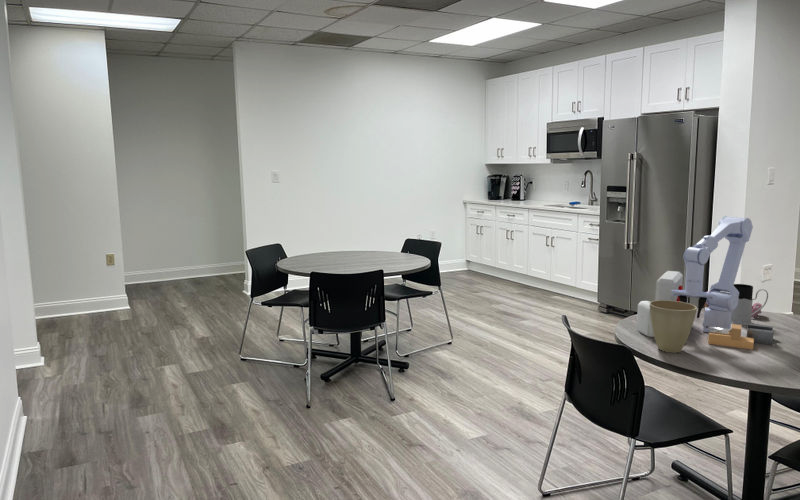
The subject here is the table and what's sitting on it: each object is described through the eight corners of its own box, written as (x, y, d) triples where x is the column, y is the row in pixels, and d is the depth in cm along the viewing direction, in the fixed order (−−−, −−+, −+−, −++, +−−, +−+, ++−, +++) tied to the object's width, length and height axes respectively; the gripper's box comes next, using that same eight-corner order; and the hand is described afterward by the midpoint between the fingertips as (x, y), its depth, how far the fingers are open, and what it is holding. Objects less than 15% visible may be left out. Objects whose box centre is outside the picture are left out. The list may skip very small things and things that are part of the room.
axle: (708, 335, 217) (709, 327, 216) (709, 333, 219) (709, 325, 219) (740, 339, 212) (741, 331, 211) (740, 337, 214) (741, 329, 214)
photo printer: (634, 329, 234) (636, 298, 232) (645, 329, 234) (647, 298, 232) (647, 337, 223) (648, 305, 221) (658, 337, 224) (660, 304, 222)
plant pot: (676, 359, 199) (679, 312, 197) (637, 347, 211) (640, 303, 209) (703, 351, 207) (706, 306, 204) (664, 340, 219) (666, 298, 217)
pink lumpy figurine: (754, 322, 248) (764, 309, 245) (743, 316, 250) (753, 303, 247) (755, 317, 256) (765, 304, 254) (744, 311, 258) (754, 298, 256)
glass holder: (723, 318, 248) (726, 283, 246) (760, 320, 247) (763, 284, 244) (732, 324, 240) (735, 287, 238) (770, 325, 238) (773, 288, 236)
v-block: (746, 341, 218) (747, 329, 217) (746, 334, 226) (747, 323, 225) (772, 344, 214) (773, 332, 213) (771, 337, 222) (772, 326, 221)
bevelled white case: (675, 332, 230) (678, 280, 227) (653, 329, 234) (656, 278, 231) (683, 319, 248) (686, 271, 245) (662, 317, 252) (664, 270, 249)
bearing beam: (707, 343, 216) (709, 325, 215) (708, 339, 221) (710, 321, 220) (753, 349, 209) (754, 330, 208) (752, 344, 214) (754, 326, 213)
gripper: (671, 280, 218) (668, 316, 220) (716, 284, 211) (713, 321, 213) (673, 276, 224) (670, 312, 226) (717, 280, 217) (714, 317, 219)
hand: (691, 316), depth 220 cm, fingers open, 4 cm apart
